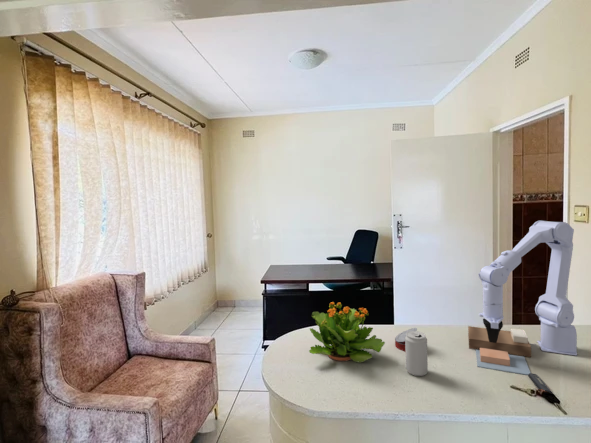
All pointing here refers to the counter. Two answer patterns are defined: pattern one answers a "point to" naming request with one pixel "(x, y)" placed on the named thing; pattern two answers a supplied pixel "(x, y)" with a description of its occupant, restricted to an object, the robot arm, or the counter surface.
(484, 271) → the robot arm
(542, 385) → the usb stick
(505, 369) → the mat
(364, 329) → the potted flower
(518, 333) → the cream tile
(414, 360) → the beverage can
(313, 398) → the counter surface
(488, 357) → the terracotta tile
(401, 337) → the canned food
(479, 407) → the counter surface
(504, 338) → the brown wooden block
